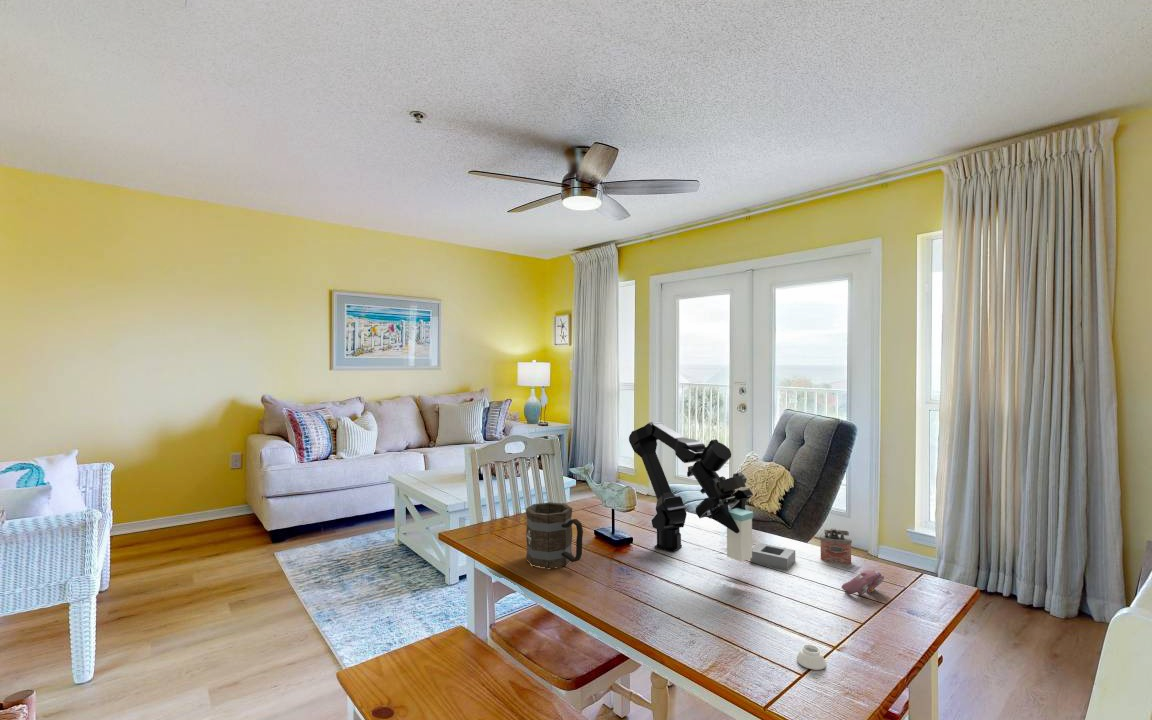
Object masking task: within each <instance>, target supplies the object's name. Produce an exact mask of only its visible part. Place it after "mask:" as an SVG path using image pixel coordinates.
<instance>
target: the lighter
mask: <svg viewBox="0 0 1152 720" xmlns="http://www.w3.org/2000/svg"><path fill="white" fill-rule="evenodd" d="M845 536H847V537H845ZM849 536H850V531H849V530H848V529H836V527H832V528H824V534H821V535H819V540H820V560H821V561H824V562H825V561H826V562H828V563H829V562H831V563H838V564H847V565H848V564H852V543H853V542H852V541H853V540H852V538H850V537H849Z"/></svg>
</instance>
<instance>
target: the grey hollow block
mask: <svg viewBox="0 0 1152 720" xmlns="http://www.w3.org/2000/svg"><path fill="white" fill-rule="evenodd" d="M749 561H750V563H755V564H757V565H758V564H759V565H763V566H766V567H767V566H768V567H772V568H776V569H780V570H785V571H788V570H789V569H790V568H791V567H792V566H793V564H794V563H795V562H796V549H792V548H787V547H782V546H776V545H771V544H768V543H762V542H758V544H756V545H755V546H754V547H752V558H750V559H749Z"/></svg>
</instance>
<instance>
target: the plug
mask: <svg viewBox="0 0 1152 720" xmlns="http://www.w3.org/2000/svg"><path fill="white" fill-rule="evenodd" d="M728 511H729V513H730V515H731V517H732V518H733V520H734V521H735V523H736V525H737V527H738V529H739V531H740V532H739V533H735V532H733V531H732V530H730V529H729V528H727V527H726V557H728V558H730V559H733V560H736V561H738V562H741V563H742V562H745V561H747V560H750V558H752V549H753V518H754V511H752V510H751V511H750V510H747V509H746V510H744V509H740V508H735V509H731V508H730V509H728Z"/></svg>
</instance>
